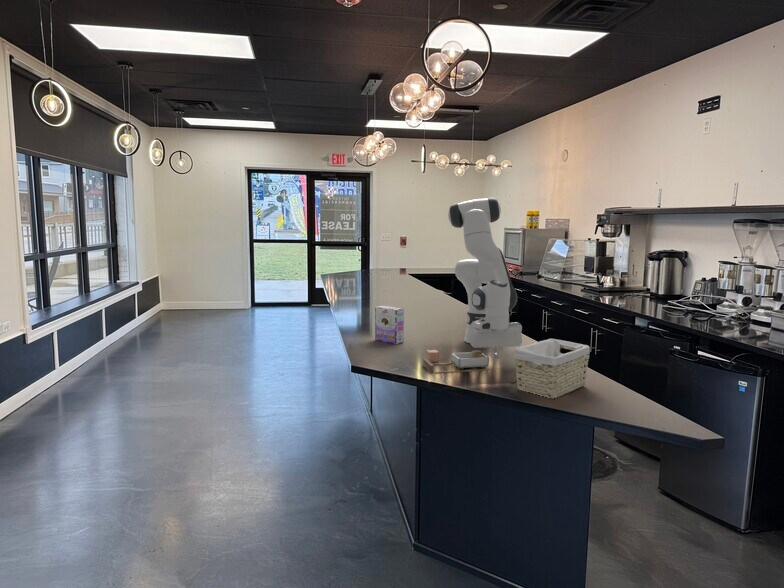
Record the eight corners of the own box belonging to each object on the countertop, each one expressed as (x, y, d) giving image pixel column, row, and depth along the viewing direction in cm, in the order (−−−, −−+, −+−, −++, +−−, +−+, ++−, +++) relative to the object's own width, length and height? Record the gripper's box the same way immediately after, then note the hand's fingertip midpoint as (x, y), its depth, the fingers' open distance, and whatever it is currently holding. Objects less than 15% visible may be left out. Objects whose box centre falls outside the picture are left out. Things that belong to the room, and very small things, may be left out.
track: (479, 364, 207) (480, 354, 206) (493, 373, 194) (493, 363, 194) (421, 367, 201) (422, 357, 201) (431, 377, 189) (432, 366, 188)
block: (435, 361, 210) (436, 349, 210) (438, 364, 206) (439, 352, 206) (426, 362, 209) (426, 350, 209) (429, 364, 206) (429, 352, 205)
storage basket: (552, 402, 164) (555, 357, 162) (510, 389, 176) (512, 347, 174) (590, 386, 180) (592, 345, 178) (548, 376, 192) (550, 337, 190)
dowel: (479, 360, 201) (479, 350, 201) (483, 362, 198) (483, 352, 197) (470, 360, 200) (470, 350, 200) (473, 363, 197) (474, 353, 196)
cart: (479, 362, 204) (479, 351, 204) (488, 369, 196) (488, 357, 195) (450, 364, 202) (450, 353, 201) (458, 371, 193) (458, 359, 192)
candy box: (404, 342, 242) (404, 308, 240) (395, 345, 238) (396, 309, 236) (383, 338, 251) (383, 304, 249) (374, 340, 247) (374, 306, 245)
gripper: (518, 320, 204) (516, 354, 206) (469, 322, 200) (468, 357, 201) (525, 323, 198) (524, 358, 200) (475, 325, 193) (474, 361, 195)
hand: (495, 357), depth 201 cm, fingers closed
